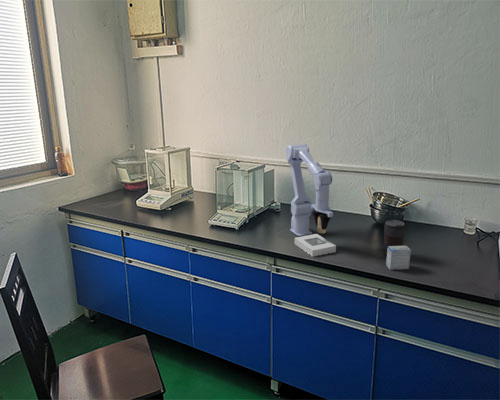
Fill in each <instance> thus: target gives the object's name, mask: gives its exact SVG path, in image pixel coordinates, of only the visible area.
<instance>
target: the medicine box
mask: <svg viewBox="0 0 500 400" xmlns="http://www.w3.org/2000/svg"><path fill="white" fill-rule="evenodd" d="M411 253H412V250H411V248H409V247H408V246H407V245H403V246H388V249H387V257H386V260H385V265H386V267H387V268H388V269H389V270H390V271H392V270H394V271H395V269H396V270H409V269H410V260H411Z"/></svg>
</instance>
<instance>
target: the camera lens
mask: <svg viewBox="0 0 500 400" xmlns="http://www.w3.org/2000/svg"><path fill="white" fill-rule="evenodd" d="M405 229H406V228H405V223H404V221H401V220H398V219H388V220H386V221H385V222H384V227H383V234H384V235H383V243H382V249H383V250H382V251H383V255H384V256H385V257H386V258H387V249H388V246H404V236H405Z"/></svg>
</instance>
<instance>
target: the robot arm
mask: <svg viewBox="0 0 500 400" xmlns="http://www.w3.org/2000/svg"><path fill="white" fill-rule="evenodd" d="M285 149H286V150H285V156H286V161H287V163H288V164H289V167H290V173H291V174H290V175H291V179H292V185H293V191H294V192H293V193H294V197H293V199H292V201H291V202H290V205H291V206H290V213H291V215H292V216H291V220H290V222H291V223H290V229H289V231H290V232H292V233H293V234H295V235H296V236H297V237H302V236H307V235H313V232H312V231H311V230H310V217H311V215H312V216H313V219H314V222H315V226H316V227H317V226H318V216H319V217H320V220H321V228H322V230H324V229H326V230H327V229H328V226H329V223H330V220H331V218H333V217H334V212H333V211H332V210H331V207H330V205H329V204H330V203H329V201H330V185H332V183H333V175H332V173H331V172H330V171H327V170H325V169H324V167H322V165H321V164H320V163H319V161H315V160H314V158H313V157H312V155H311V153H310V147H309V145H307V143H304V144H292V145H291V144H289V145H287V147H286V148H285ZM302 163H304V164H305V165H307V171H308V172H309V173H310V175H311V176H312V178H313V182H314V189H315V203H312V201H311V198H310V197H308V196H306V191H305V185H304V179H303V172H302V166H301V164H302Z"/></svg>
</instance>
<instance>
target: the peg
mask: <svg viewBox="0 0 500 400" xmlns="http://www.w3.org/2000/svg"><path fill="white" fill-rule="evenodd" d="M316 228H317V230H316V232H317V234H325V233H326V232H327V228H326V229H324V230H322V228H321V220H320V217H319V216H318V226H316Z"/></svg>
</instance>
